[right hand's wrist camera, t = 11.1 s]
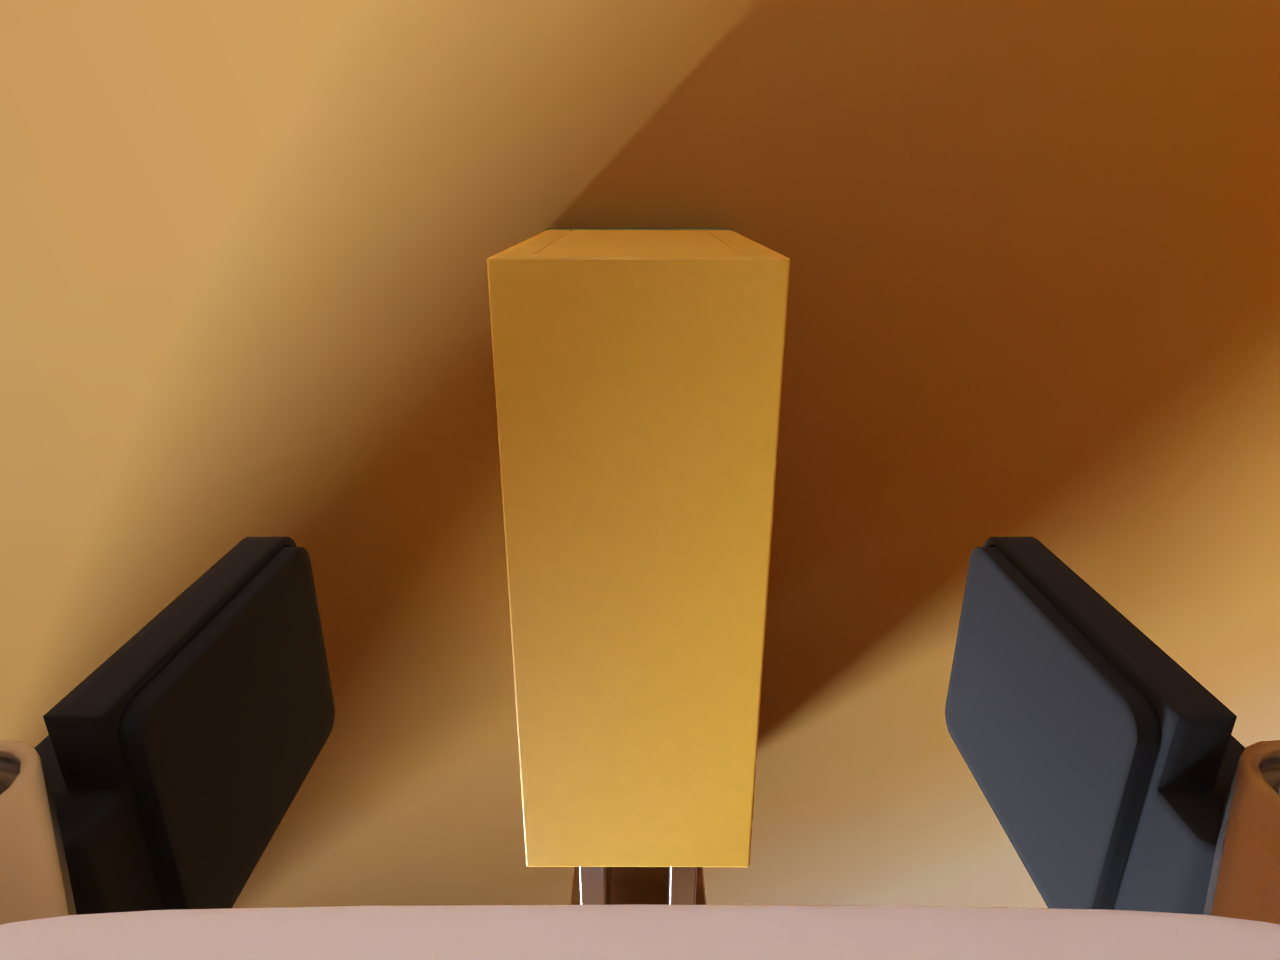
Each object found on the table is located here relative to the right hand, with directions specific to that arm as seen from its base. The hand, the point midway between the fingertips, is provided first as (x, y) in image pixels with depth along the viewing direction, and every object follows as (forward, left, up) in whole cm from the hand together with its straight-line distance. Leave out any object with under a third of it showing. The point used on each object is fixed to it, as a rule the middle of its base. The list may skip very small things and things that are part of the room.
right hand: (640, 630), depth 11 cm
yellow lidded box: (+3, +2, -18) cm, 19 cm away
